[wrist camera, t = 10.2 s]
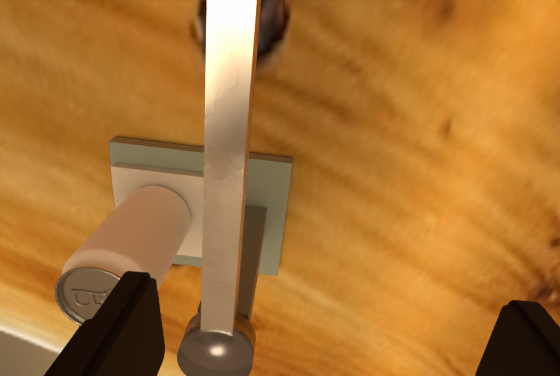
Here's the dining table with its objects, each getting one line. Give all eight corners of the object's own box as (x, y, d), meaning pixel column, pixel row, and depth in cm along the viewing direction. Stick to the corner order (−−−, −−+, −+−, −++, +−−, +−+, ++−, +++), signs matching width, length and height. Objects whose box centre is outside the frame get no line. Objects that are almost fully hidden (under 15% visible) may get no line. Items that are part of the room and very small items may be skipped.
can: (195, 242, 36) (151, 339, 25) (131, 240, 36) (61, 335, 26) (188, 184, 33) (136, 263, 23) (120, 182, 34) (35, 260, 23)
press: (126, 249, 40) (32, 373, 26) (115, 136, 34) (-11, 218, 20) (278, 267, 40) (266, 401, 26) (292, 157, 34) (288, 254, 20)
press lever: (254, 355, 24) (247, 400, 21) (189, 347, 24) (174, 391, 21) (304, -100, 14) (306, -132, 11) (189, -114, 14) (160, -150, 11)
